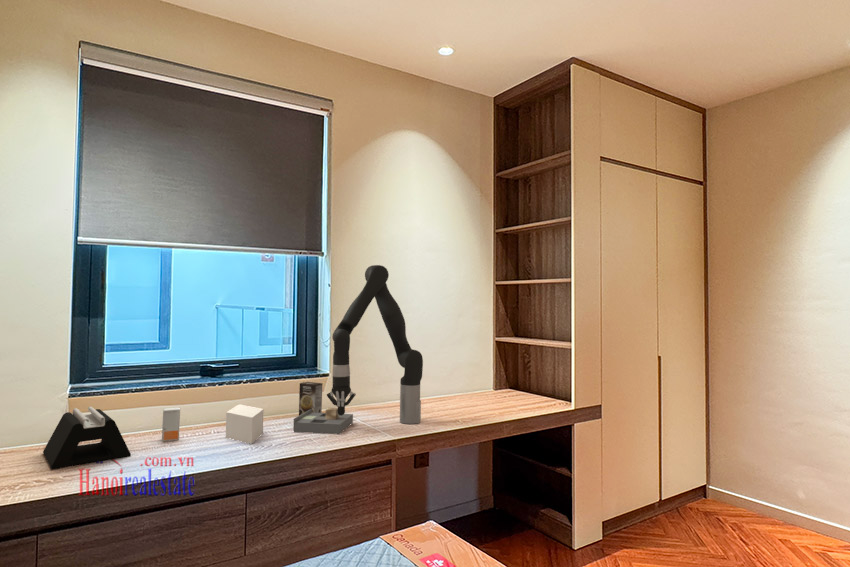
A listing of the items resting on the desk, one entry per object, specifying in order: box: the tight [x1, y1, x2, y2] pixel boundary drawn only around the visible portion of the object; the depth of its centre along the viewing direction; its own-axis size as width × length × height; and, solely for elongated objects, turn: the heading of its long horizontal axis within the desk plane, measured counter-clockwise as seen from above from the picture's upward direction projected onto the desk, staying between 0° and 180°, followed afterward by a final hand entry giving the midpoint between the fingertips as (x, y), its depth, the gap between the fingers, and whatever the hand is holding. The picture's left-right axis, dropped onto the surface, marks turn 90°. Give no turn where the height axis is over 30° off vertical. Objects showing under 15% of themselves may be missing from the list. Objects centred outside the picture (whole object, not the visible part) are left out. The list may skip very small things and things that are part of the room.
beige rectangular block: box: [225, 403, 265, 445], centre depth 206 cm, size 14×29×10 cm, turn 29°
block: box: [325, 407, 339, 420], centre depth 222 cm, size 4×4×4 cm
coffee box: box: [298, 381, 323, 416], centre depth 241 cm, size 9×6×16 cm
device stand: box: [42, 406, 132, 471], centre depth 178 cm, size 22×22×15 cm
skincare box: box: [161, 407, 181, 442], centre depth 199 cm, size 6×4×12 cm
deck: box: [292, 409, 354, 435], centre depth 222 cm, size 20×20×6 cm
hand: (341, 415), depth 221 cm, fingers closed
